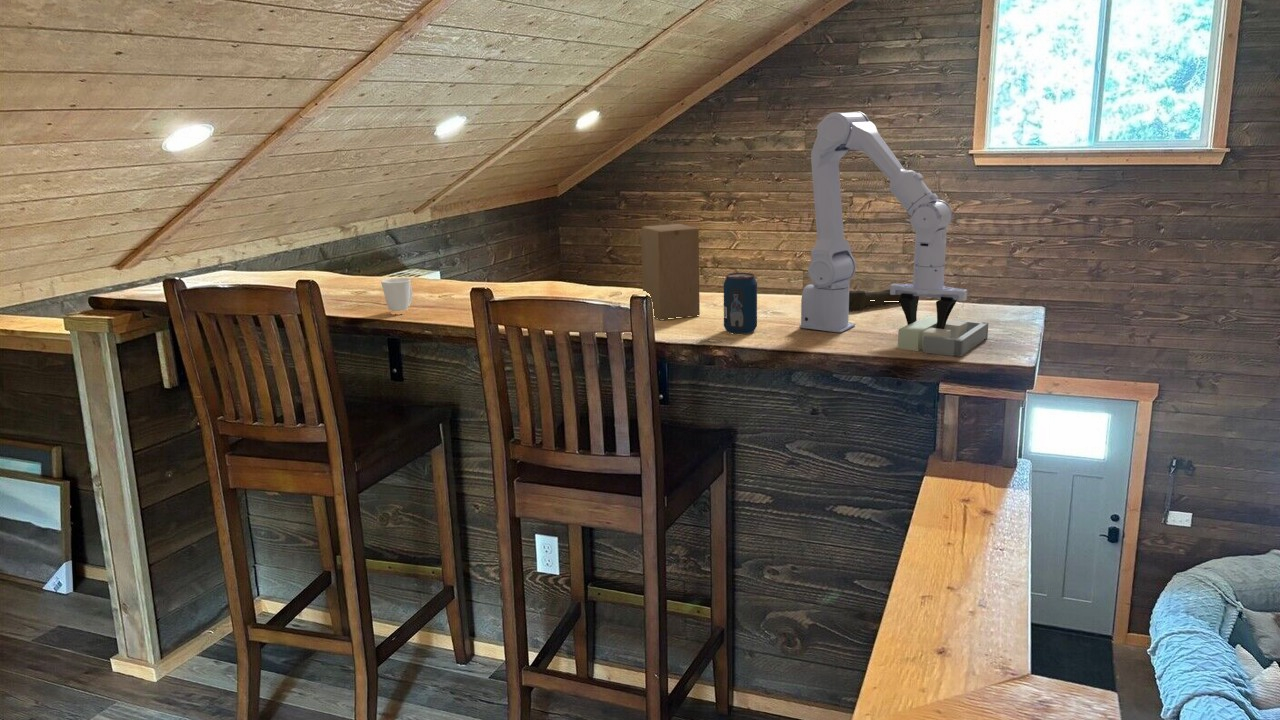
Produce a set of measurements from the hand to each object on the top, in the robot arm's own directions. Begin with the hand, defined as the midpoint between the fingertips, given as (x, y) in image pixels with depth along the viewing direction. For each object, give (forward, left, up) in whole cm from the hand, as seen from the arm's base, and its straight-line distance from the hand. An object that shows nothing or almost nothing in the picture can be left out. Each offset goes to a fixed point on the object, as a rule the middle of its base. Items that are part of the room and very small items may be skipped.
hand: (925, 333), depth 188 cm
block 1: (+4, -4, -2) cm, 6 cm away
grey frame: (+6, 0, -2) cm, 6 cm away
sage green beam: (0, -1, -2) cm, 2 cm away
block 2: (+4, +4, -2) cm, 6 cm away
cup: (-117, -31, -2) cm, 121 cm away
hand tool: (-20, +26, -2) cm, 33 cm away
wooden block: (-58, -3, -2) cm, 58 cm away
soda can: (-36, -10, -2) cm, 37 cm away
